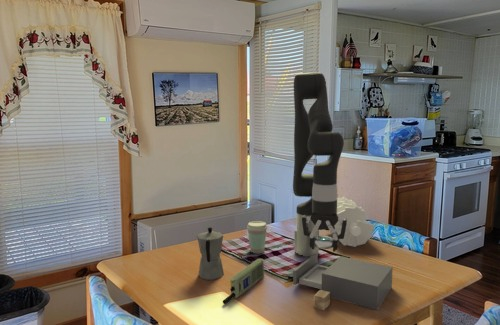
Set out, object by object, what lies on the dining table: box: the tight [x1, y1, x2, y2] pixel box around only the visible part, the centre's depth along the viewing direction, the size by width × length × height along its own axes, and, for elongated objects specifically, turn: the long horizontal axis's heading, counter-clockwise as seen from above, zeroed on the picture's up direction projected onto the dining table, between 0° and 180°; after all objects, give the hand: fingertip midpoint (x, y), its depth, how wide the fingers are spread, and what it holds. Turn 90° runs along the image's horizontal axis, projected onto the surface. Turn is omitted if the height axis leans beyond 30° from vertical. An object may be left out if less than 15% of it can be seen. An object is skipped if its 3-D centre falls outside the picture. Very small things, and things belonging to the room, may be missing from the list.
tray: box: [292, 253, 329, 290], centre depth 140 cm, size 18×18×5 cm
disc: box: [314, 235, 334, 250], centre depth 126 cm, size 6×6×2 cm
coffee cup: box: [246, 220, 268, 254], centre depth 172 cm, size 8×9×12 cm
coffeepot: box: [196, 226, 225, 281], centre depth 147 cm, size 15×9×18 cm, turn 0°
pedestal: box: [313, 289, 331, 311], centre depth 125 cm, size 3×4×4 cm
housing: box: [321, 256, 393, 311], centre depth 134 cm, size 18×17×8 cm
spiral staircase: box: [329, 196, 376, 248], centre depth 184 cm, size 18×18×25 cm
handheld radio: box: [222, 258, 265, 305], centre depth 137 cm, size 7×3×25 cm
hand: (323, 249), depth 127 cm, fingers closed on disc, 6 cm apart
